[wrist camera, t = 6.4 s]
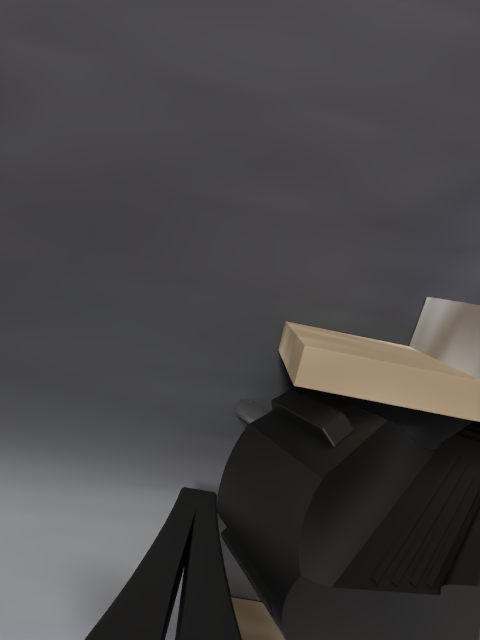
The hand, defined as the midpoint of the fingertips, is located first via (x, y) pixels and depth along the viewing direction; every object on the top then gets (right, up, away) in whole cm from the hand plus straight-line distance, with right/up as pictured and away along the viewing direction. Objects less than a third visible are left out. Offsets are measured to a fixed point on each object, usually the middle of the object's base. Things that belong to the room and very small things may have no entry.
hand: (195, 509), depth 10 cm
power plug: (+7, +3, +1) cm, 8 cm away
